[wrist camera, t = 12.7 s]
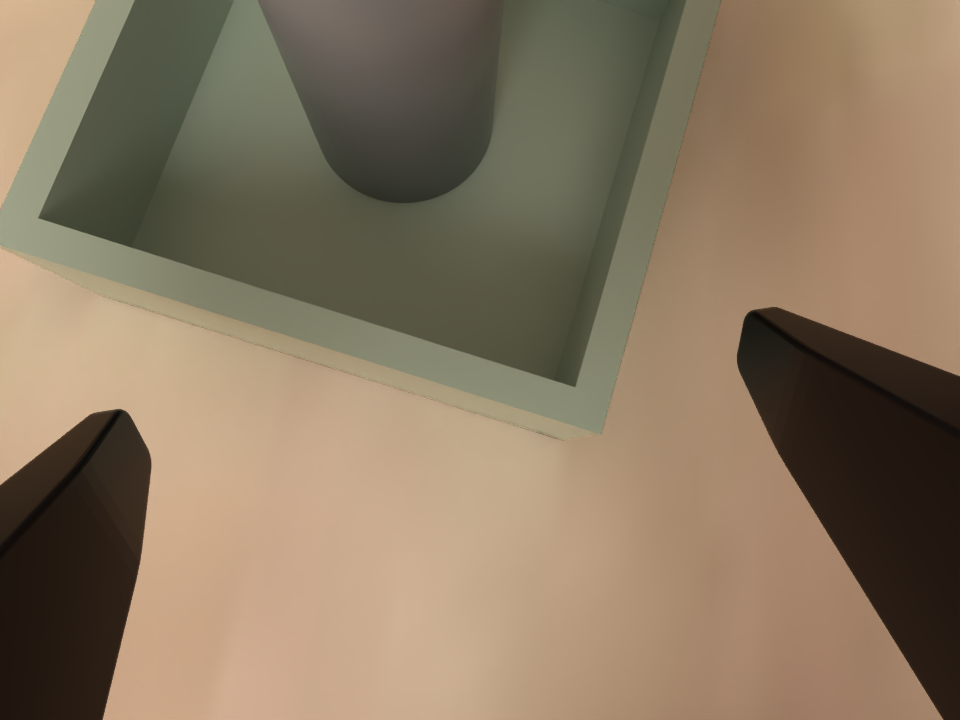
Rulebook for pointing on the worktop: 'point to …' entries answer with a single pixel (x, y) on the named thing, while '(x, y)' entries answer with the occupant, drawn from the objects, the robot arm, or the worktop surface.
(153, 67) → the sage bin
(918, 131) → the worktop surface
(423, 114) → the ball
